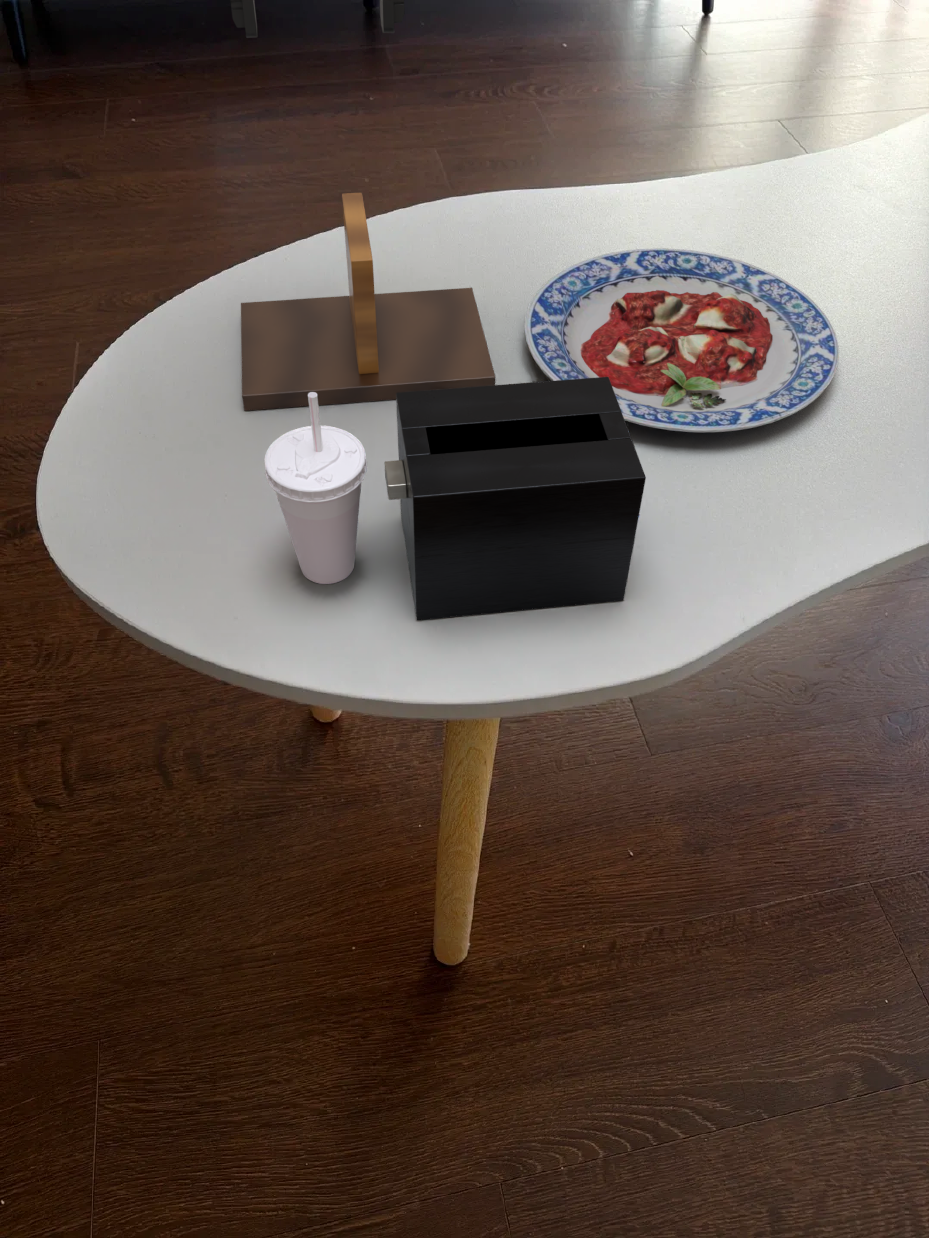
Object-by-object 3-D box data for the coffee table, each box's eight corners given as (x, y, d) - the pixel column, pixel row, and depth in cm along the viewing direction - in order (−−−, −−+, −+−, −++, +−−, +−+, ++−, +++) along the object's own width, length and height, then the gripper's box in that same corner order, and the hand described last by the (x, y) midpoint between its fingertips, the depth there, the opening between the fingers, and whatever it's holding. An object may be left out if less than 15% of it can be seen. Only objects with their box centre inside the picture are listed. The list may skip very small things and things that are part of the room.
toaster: (398, 622, 72) (392, 499, 64) (384, 518, 79) (377, 393, 70) (623, 600, 74) (646, 477, 65) (591, 500, 80) (608, 376, 72)
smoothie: (388, 544, 77) (379, 380, 66) (352, 609, 73) (336, 445, 62) (304, 523, 78) (282, 358, 68) (264, 585, 74) (234, 420, 64)
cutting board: (244, 411, 86) (241, 396, 85) (243, 317, 95) (240, 302, 94) (494, 392, 88) (495, 377, 87) (471, 302, 97) (472, 287, 96)
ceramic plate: (559, 251, 103) (562, 221, 100) (840, 295, 98) (849, 265, 96) (488, 417, 86) (489, 386, 84) (821, 479, 82) (832, 448, 80)
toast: (349, 304, 94) (341, 193, 86) (368, 303, 94) (362, 192, 86) (358, 374, 87) (350, 261, 80) (378, 373, 87) (372, 259, 80)
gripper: (423, -313, 60) (424, 6, 72) (159, -314, 59) (206, 12, 71) (440, -287, 55) (439, 51, 67) (153, -287, 54) (204, 59, 66)
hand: (319, 31), depth 69 cm, fingers open, 8 cm apart
